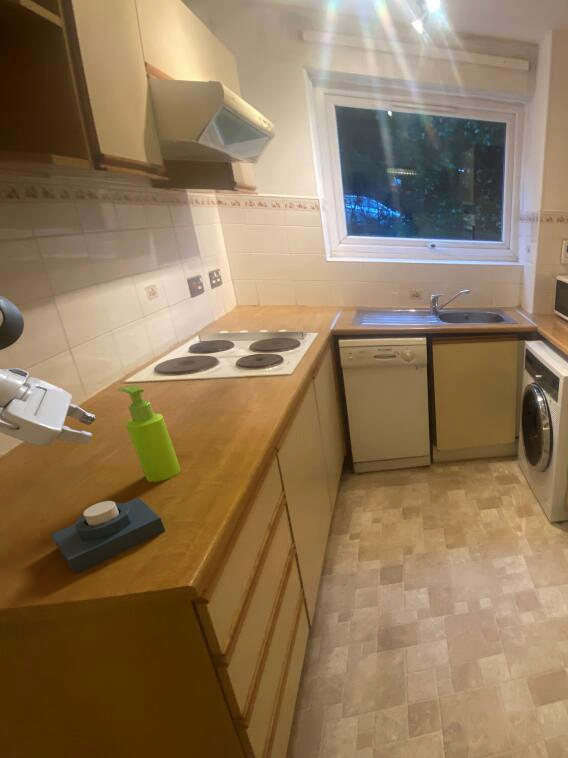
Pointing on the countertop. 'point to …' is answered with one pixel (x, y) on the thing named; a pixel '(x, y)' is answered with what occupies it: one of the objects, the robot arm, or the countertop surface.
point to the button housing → (107, 535)
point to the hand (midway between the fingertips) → (91, 429)
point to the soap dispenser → (150, 438)
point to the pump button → (101, 513)
